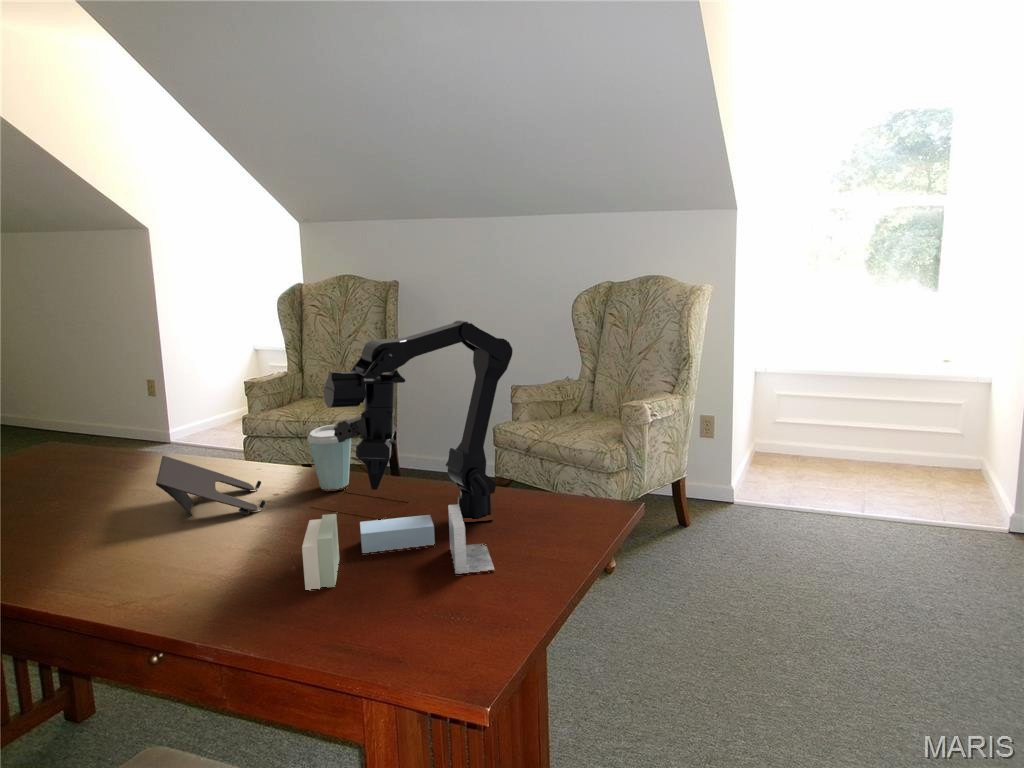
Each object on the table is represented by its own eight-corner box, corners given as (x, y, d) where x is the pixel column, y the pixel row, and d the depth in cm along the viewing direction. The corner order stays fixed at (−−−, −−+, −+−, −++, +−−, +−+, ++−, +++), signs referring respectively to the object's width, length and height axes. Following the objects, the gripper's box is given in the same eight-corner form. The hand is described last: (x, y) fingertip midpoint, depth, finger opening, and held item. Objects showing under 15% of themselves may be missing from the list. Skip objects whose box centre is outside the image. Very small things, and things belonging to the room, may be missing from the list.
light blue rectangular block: (430, 535, 154) (429, 514, 153) (434, 547, 148) (433, 526, 147) (361, 543, 151) (359, 521, 150) (362, 556, 144) (360, 533, 144)
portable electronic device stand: (250, 544, 167) (267, 506, 167) (142, 513, 157) (160, 473, 157) (246, 511, 188) (260, 477, 188) (150, 482, 178) (166, 447, 178)
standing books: (339, 557, 143) (336, 512, 141) (335, 588, 130) (331, 538, 129) (312, 560, 142) (309, 515, 141) (305, 590, 130) (301, 541, 128)
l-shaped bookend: (485, 546, 147) (484, 502, 145) (494, 571, 135) (493, 524, 134) (450, 549, 146) (448, 505, 144) (455, 575, 134) (453, 527, 132)
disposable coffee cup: (345, 496, 178) (340, 435, 176) (303, 494, 181) (298, 433, 178) (362, 482, 189) (358, 424, 186) (322, 480, 191) (318, 423, 188)
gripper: (345, 396, 155) (343, 469, 158) (328, 412, 137) (327, 495, 139) (399, 398, 156) (397, 471, 158) (390, 414, 138) (388, 497, 140)
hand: (377, 483), depth 149 cm, fingers open, 9 cm apart
